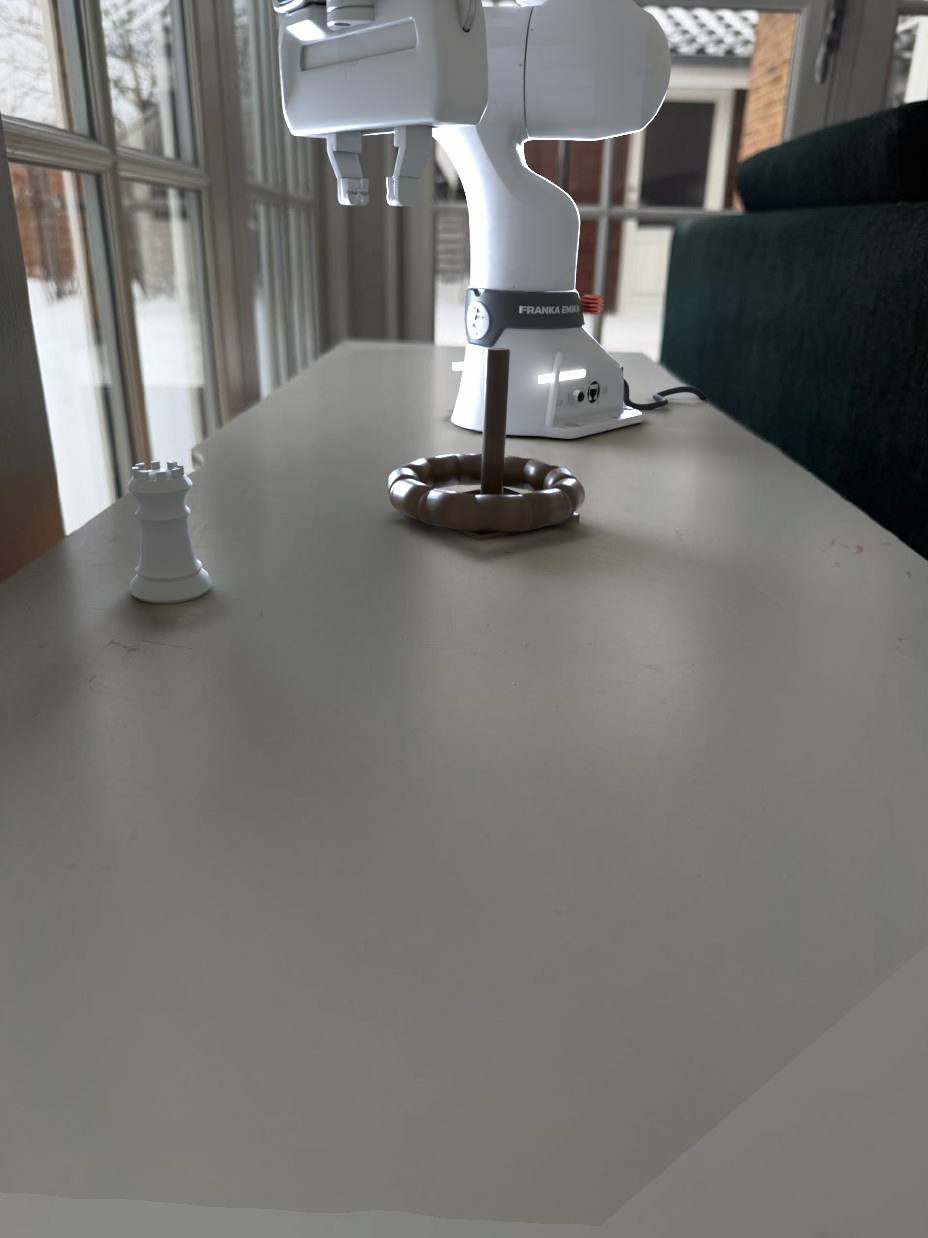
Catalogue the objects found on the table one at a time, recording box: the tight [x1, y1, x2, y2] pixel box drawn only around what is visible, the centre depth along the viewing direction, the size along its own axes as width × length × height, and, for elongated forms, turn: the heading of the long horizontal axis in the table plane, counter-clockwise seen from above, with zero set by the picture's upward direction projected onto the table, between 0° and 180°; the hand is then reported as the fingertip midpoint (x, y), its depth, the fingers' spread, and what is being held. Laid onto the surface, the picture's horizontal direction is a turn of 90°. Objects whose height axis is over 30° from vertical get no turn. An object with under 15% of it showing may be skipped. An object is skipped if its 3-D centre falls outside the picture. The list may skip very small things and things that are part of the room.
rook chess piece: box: [126, 460, 213, 605], centre depth 47 cm, size 4×4×8 cm
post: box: [451, 347, 581, 542], centre depth 61 cm, size 9×9×12 cm
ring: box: [387, 453, 586, 532], centre depth 63 cm, size 14×14×2 cm
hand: (377, 205), depth 62 cm, fingers open, 5 cm apart
